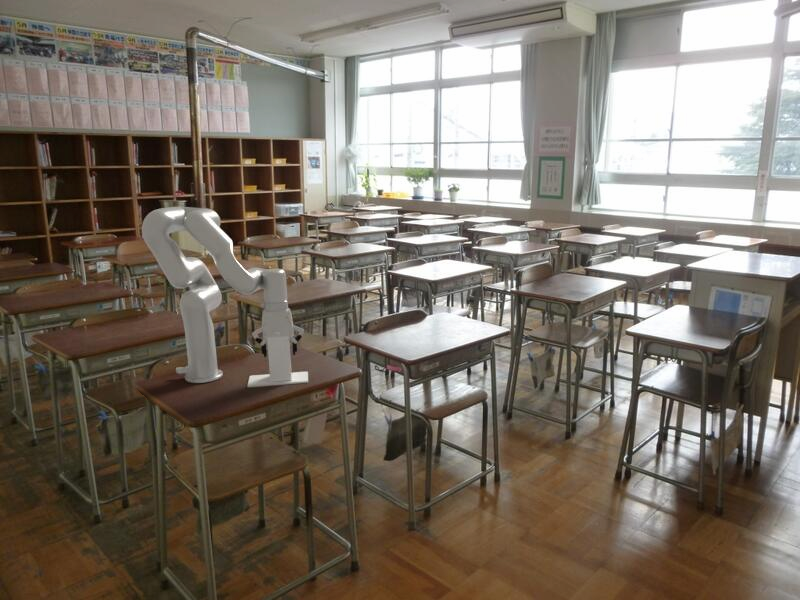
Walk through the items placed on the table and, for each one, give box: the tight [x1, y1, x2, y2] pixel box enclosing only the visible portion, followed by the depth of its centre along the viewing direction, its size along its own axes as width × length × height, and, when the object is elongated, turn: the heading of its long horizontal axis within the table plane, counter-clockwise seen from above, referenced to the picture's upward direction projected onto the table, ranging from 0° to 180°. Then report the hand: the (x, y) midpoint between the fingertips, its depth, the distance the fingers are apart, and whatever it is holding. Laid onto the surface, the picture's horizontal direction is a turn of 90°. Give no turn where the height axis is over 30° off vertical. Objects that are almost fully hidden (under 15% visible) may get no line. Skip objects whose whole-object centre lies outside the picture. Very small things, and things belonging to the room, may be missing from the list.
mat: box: [246, 370, 309, 388], centre depth 210 cm, size 20×10×1 cm, turn 99°
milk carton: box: [266, 332, 292, 382], centre depth 208 cm, size 7×7×19 cm
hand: (279, 354), depth 208 cm, fingers open, 9 cm apart
